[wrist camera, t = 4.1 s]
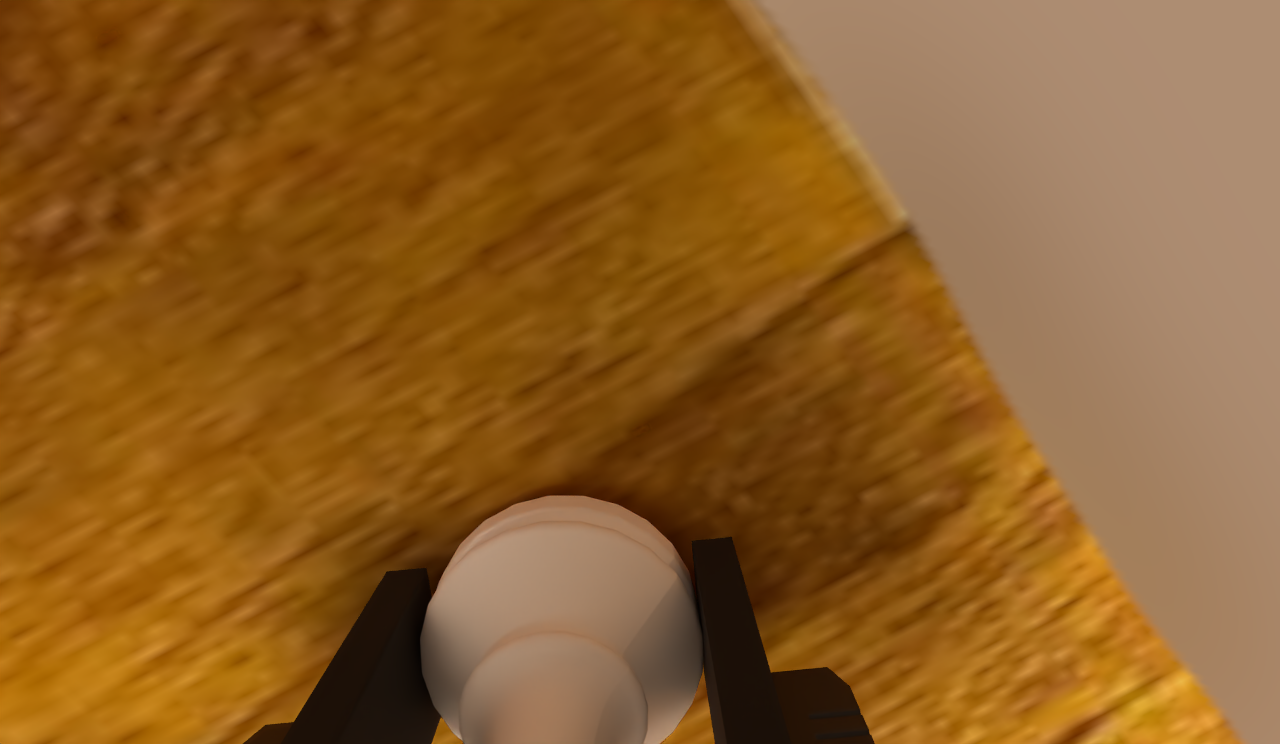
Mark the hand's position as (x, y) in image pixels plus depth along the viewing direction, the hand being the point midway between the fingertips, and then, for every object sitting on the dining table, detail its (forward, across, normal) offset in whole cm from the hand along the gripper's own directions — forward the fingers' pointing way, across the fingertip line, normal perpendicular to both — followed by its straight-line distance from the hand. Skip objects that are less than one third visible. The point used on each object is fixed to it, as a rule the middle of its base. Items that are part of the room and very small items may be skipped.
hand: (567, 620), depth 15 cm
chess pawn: (+1, 0, 0) cm, 1 cm away
